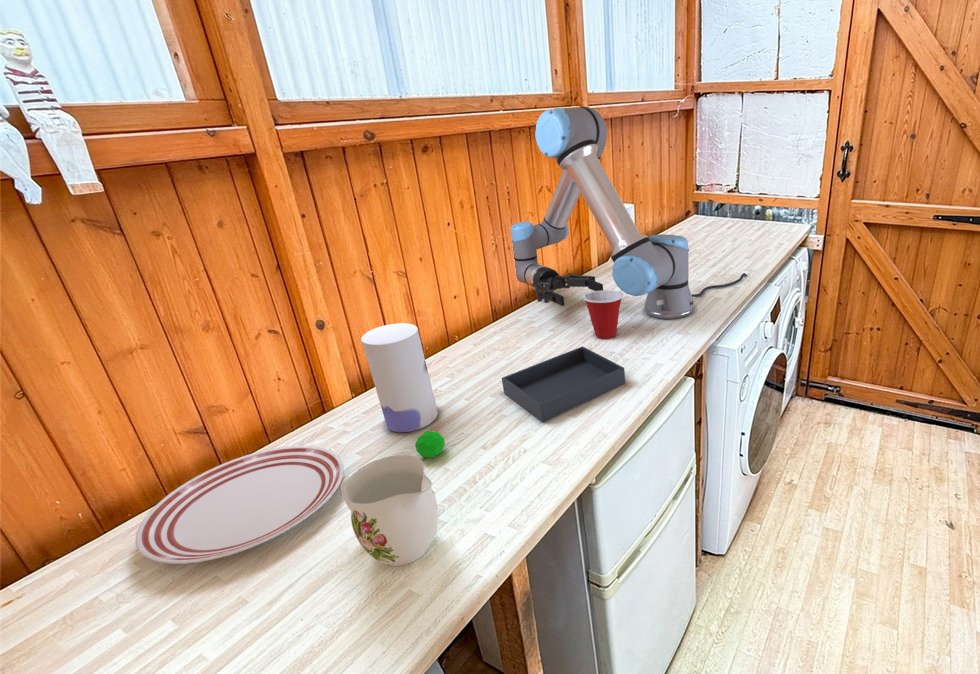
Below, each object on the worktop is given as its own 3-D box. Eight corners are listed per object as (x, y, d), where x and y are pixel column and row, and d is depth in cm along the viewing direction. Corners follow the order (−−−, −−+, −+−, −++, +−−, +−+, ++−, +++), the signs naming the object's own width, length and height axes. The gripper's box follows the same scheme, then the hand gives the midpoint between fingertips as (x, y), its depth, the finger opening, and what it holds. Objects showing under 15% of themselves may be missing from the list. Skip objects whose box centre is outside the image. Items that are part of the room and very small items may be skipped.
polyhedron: (430, 466, 94) (425, 444, 92) (412, 458, 97) (407, 437, 95) (452, 450, 98) (447, 430, 96) (434, 443, 101) (429, 423, 99)
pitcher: (386, 506, 85) (364, 437, 80) (474, 535, 79) (457, 463, 73) (327, 556, 76) (296, 483, 70) (420, 594, 70) (396, 516, 64)
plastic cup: (628, 326, 149) (625, 287, 144) (622, 343, 139) (619, 301, 134) (590, 326, 150) (587, 287, 145) (582, 342, 140) (578, 301, 135)
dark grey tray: (584, 360, 130) (582, 346, 129) (625, 383, 119) (624, 367, 118) (504, 393, 117) (501, 377, 115) (542, 422, 106) (539, 405, 104)
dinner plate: (294, 441, 103) (289, 427, 101) (381, 485, 90) (376, 470, 89) (115, 535, 82) (104, 519, 80) (194, 610, 69) (184, 593, 67)
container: (448, 410, 111) (428, 325, 103) (415, 436, 103) (390, 346, 95) (410, 403, 115) (388, 320, 106) (375, 428, 106) (348, 340, 98)
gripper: (577, 280, 170) (617, 295, 156) (508, 300, 155) (546, 319, 141) (575, 258, 167) (616, 272, 153) (504, 276, 152) (543, 293, 138)
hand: (583, 294), depth 147 cm, fingers open, 13 cm apart
